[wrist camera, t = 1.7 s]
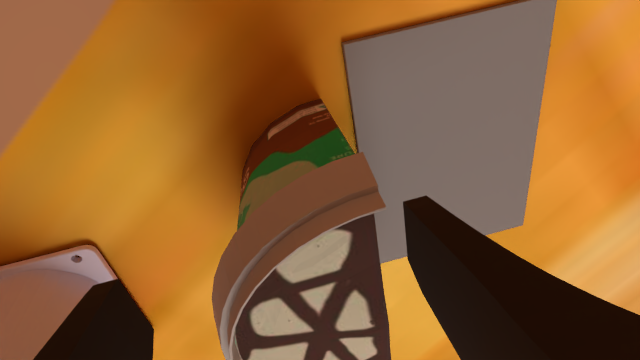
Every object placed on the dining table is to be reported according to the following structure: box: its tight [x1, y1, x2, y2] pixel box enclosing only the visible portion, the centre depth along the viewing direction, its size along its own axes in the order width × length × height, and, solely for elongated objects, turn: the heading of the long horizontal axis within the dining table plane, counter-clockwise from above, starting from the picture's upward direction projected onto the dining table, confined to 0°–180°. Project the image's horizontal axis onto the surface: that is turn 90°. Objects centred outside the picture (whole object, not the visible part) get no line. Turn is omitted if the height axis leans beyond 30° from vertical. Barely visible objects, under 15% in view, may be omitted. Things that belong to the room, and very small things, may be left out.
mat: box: [342, 0, 557, 264], centre depth 22 cm, size 10×14×1 cm
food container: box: [212, 99, 391, 360], centre depth 17 cm, size 12×6×10 cm, turn 9°
